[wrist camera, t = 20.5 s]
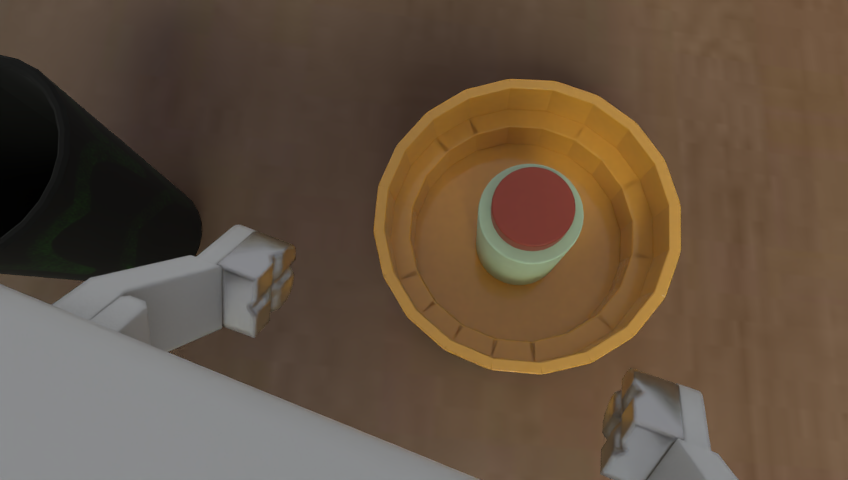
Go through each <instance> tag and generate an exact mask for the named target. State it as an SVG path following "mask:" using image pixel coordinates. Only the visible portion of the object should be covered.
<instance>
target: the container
mask: <svg viewBox="0 0 848 480" xmlns="http://www.w3.org/2000/svg"><path fill="white" fill-rule="evenodd" d="M583 219H584V211H583V204H582V201H581V198H580V196H579V193H578V191H577V190H576V188H575V186H574V185H573V184H572V183H571V182H570V180H568V179H567V178H566V177H565V176H564V175H563V174H561V173H560V172H558V171H556V170H555V169H552V168H550V167H547V166H544V165H539V164H520V165H516V166H513V167H510V168H507V169H506V170H504V171H502V172H500V173H499V174H497V175H496V176H495V177H494V178H493V179H492V180H491V181H490V182H489V183H488V184H487V186H486V188H485V189H484V191H483V193H482V195H481V198H480V201H479V207H478V220H477V235H476V249H477V254H478V257H479V260H480V262H481V264H482V265H483V267H484V268H485V269H486V271H487V272H488V273H489V274H491V275H492V276H493V277H494V278H496V279H498V280H500V281H502V282H504V283H507V284H512V285H526V284H531V283H534V282H536V281H538V280H540V279H542V278H543V277H545V276H546V275H547V274H548V273H549V272H550V271H551V270H552V269H553V268H554V267H555V266H556V264H557V263H558V262H559V261H560V260H561V259H562V257H563V256H564V255H565V254H566V253H567V252H568V251H569V249H570V248H571V247H572V246H573V245H574V243H575V242H576V240H577V239H578V237H579V235H580V232H581V229H582V226H583Z"/></svg>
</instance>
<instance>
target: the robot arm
mask: <svg viewBox="0 0 848 480" xmlns="http://www.w3.org/2000/svg"><path fill="white" fill-rule="evenodd" d="M295 258H296V248H295V247H294V245H292V244H290V243H287V242H285V241H282V240H279V239H277V238H274V237H272V236H269V235H267V234H264V233H261V232H259V231H255V230H253V229H250V228H248V227H245V226H242V225H240V224H239V225H234V226H233V227H232V228H230V229H229V230H228V231H227V232H225V233H224V234H223V235H222V236H221V237H219V238H218V239H217V240H216V241H215V242H213V243H212V244H211V245H210V246H209V247H207V248H206V249H205V250H204V251H202V252H201V253H200V254H199V255H198V256H196V257H195V256H192V255H188V256H184V257H179V258H175V259H171V260H166V261H162V262H157V263H153V264H148V265H144V266H140V267H135V268H131V269H126V270H122V271H118V272H113V273H109V274H104V275H100V276H96V277H91V278H89V279H88V280H86V281H85V282H83V283H82V284H80V285H79V286H78V287H76V288H75V289H73V290H72V291H71V292H69V293H68V294H66V295H65V296H63V297H62V298H61V299H59V300H58V301H56V302H55V303H54V304H52V305H51V304H48V303H46V302H43V301H41V300H38V299H36V298H34V297H31V296H29V295H26V294H24V293H21V292H19V291H16V290H14V289H11V288H9V287H7V286H4V285H2V284H0V480H480V479H478V478H475V477H473V476H471V475H468V474H466V473H463V472H461V471H458V470H456V469H453V468H451V467H449V466H446V465H444V464H441V463H439V462H436V461H434V460H431V459H429V458H427V457H424V456H422V455H419V454H417V453H414V452H412V451H409V450H407V449H404V448H402V447H399V446H397V445H395V444H392V443H390V442H387V441H385V440H382V439H380V438H377V437H375V436H372V435H370V434H367V433H365V432H363V431H360V430H358V429H355V428H353V427H350V426H348V425H345V424H343V423H340V422H338V421H335V420H333V419H331V418H328V417H326V416H323V415H321V414H318V413H316V412H313V411H311V410H308V409H306V408H303V407H301V406H299V405H296V404H294V403H291V402H289V401H286V400H284V399H281V398H279V397H276V396H274V395H272V394H269V393H267V392H264V391H262V390H259V389H257V388H254V387H252V386H249V385H247V384H245V383H242V382H240V381H237V380H235V379H232V378H230V377H227V376H225V375H222V374H220V373H218V372H215V371H213V370H210V369H208V368H205V367H203V366H200V365H198V364H195V363H193V362H190V361H188V360H186V359H183V358H181V357H178V356H176V355H173V354H171V353H168V352H169V351H171V350H173V349H176V348H178V347H180V346H183V345H185V344H187V343H189V342H192V341H194V340H196V339H199V338H201V337H203V336H205V335H208V334H210V333H212V332H215V331H217V330H219V329H221V328H222V326H223V327H226V328H228V329H231V330H234V331H237V332H239V333H242V334H245V335H248V336H250V337H253V338H255V337H256V336H257V335H258V334H259V333H260V331H261V330H262V329H263V328H264V327H265V326H266V324H267V323H268V322H269V321H270V312H272V311H275V310H278V309H280V308H281V307H282V305H283V304H284V303H285V302H286V300H287V298H288V296H289V294H290V292H291V289H292V285H293V281H294V273H293V271H292V269H291V267H290V265H291V264H292V263H293V262H294V260H295ZM602 433H603V434H604V436H605V438H606V439H607V440H606V442H605V444H604V445H603V447H602V449H601V470H600V474H602V475H604V476H606V477H609V478H611V479H613V480H738V479H737V478H736V476H735V475H734V474H733V472H732V471H731V470H730V468H729V467H728V466H727V465H726V463H725V462H724V461H723V459H722V458H721V457H720V455H719V454H718V453H715V452H713V451H711V446H710V440H709V433H708V426H707V420H706V413H705V407H704V400H703V395H702V393H701V392H700V391H698V390H695V389H692V388H689V387H686V386H683V385H680V384H677V383H676V384H675V383H673V382H670V381H667V380H664V379H662V378H659V377H656V376H653V375H650V374H648V373H645V372H642V371H639V370H636V369H634V368H630V369H629V370H628V371H627V372H626V374H625V375H624V377H623V379H622V390H620V391H617V392H614V394H613V396H612V398H611V399H610V401H609V403H608V406H607V409H606V412H605V415H604V420H603V430H602Z"/></svg>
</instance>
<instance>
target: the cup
mask: <svg viewBox="0 0 848 480" xmlns="http://www.w3.org/2000/svg"><path fill="white" fill-rule="evenodd" d="M201 235H202V231H201V220H200V216H199V212H198V210H197V209H196V207H195V205H194V204H193V202H192V201H191V200H190V199H189V198H188V197H187V196H186V195H185V194H184V193H183V192H181V191H180V190H179V189H178V188H177V187H175V186H174V185H173V184H172V183H171V182H170V181H168V180H167V179H166V178H165V177H164V176H163V175H161V174H160V173H159V172H158V171H157V170H155V169H154V168H153V167H152V166H151V165H150V164H148V163H147V162H146V161H145V160H144V159H142V158H141V157H140V156H139V155H138V154H137V153H135V152H134V151H133V150H132V149H131V148H130V147H128V146H127V145H126V144H125V143H124V142H122V141H121V140H120V139H119V138H118V137H117V136H115V135H114V134H113V133H112V132H111V131H109V130H108V129H107V128H106V127H105V126H104V125H102V124H101V123H100V122H99V121H98V120H97V119H95V118H94V117H93V116H92V115H91V114H89V113H88V112H87V111H86V110H85V109H84V108H82V107H81V106H80V105H79V104H78V103H77V102H75V101H74V100H73V99H72V98H71V97H69V96H68V95H67V94H66V93H65V92H64V91H62V90H61V89H60V88H59V87H58V86H56V85H55V84H54V83H53V82H52V81H51V80H49V79H48V78H47V77H46V76H45V75H44V74H42V73H41V72H40V71H39V70H38V69H36V68H34V67H32V66H30V65H28V64H26V63H24V62H23V61H21V60H19V59H16V58H11V57H7V56H2V55H0V274H11V275H23V276H35V277H47V278H59V279H71V280H83V281H86V280H88V279H89V278H91V277H96V276H100V275H104V274H109V273H113V272H118V271H122V270H126V269H131V268H135V267H140V266H144V265H148V264H153V263H157V262H162V261H166V260H171V259H175V258H179V257H184V256H188V255H192V256H195V254H196V252H197V250H198V248H199V244H200V240H201Z"/></svg>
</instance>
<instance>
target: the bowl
mask: <svg viewBox="0 0 848 480" xmlns="http://www.w3.org/2000/svg"><path fill="white" fill-rule="evenodd" d="M664 160H665V159H664V158H663V157H662V155H661V154H660V153H659V151H658V150H657V149H656V147H655V146H654V145H653V143H652V142H651V141H650V139H649V138H648V137H647V136H646V134H645V133H644V132H643V130H642V129H641V128H640V126H639V125H638V124H637V123H636V122H635V121H634V120H632V119H631V118H629V117H628V116H627V115H625V114H624V113H622V112H621V111H620V110H618V109H617V108H615V107H614V106H613V105H611V104H610V103H608V102H607V101H606V100H604V99H603V98H601V97H600V96H598V95H596V94H593V93H590V92H587V91H584V90H581V89H578V88H575V87H572V86H569V85H566V84H563V83H560V82H558V81H551V80H528V79H506V80H501V81H497V82H493V83H489V84H485V85H481V86H477V87H473V88H469V89H466V90H464V91H462V92H460V93H458V94H457V95H455V96H453V97H452V98H450V99H448V100H447V101H445V102H443V103H441V104H440V105H438V106H436V107H435V108H433V109H431V110H430V111H428V112H427V113H425V115H424V116H423V117H422V118H421V119H420V120H419V121H418V122H417V123H416V124H415V126H414V127H413V128H412V129H411V130H410V131H409V132H408V133H407V134H406V135H405V137H404V138H403V139H402V140H401V141H400V142H399V143H398V144H397V146H396V147H395V150H394V152H393V154H392V156H391V158H390V161H389V163H388V165H387V167H386V169H385V172H384V174H383V176H382V178H381V180H380V183H379V185H378V191H377V200H376V209H375V218H374V227H373V230H374V232H373V233H374V237H375V242H376V247H377V251H378V256H379V261H380V265H381V270H382V275H383V277H384V279H385V281H386V282H387V284H388V286H389V287H390V289H391V291H392V293H393V294H394V296H395V298H396V299H397V301H398V303H399V304H400V306H401V308H402V310H403V311H404V313H405V315H406V316H407V317H408V319H409V320H411V321H412V322H413V323H414V324H415V325H416V326H417V327H419V328H420V329H421V330H422V331H423V332H424V333H425V334H427V335H428V336H429V337H430V338H431V339H432V340H433V341H434V342H436V343H437V344H438V345H439V346H440V347H441V348H442V349H444V350H445V351H447V352H448V353H450V354H452V355H455V356H457V357H459V358H462V359H464V360H466V361H469V362H471V363H473V364H476V365H478V366H480V367H483V368H485V369H489V370H495V371H506V372H516V373H527V374H538V375H541V374H548V373H552V372H556V371H560V370H565V369H569V368H573V367H577V366H582V365H586V364H590V363H592V362H594V361H596V360H598V359H599V358H601V357H602V356H604V355H606V354H607V353H609V352H610V351H612V350H614V349H615V348H617V347H618V346H620V345H622V344H623V343H625V342H626V341H628V340H630V339H631V338H633V337H634V336H635V335H636V334H637V333H638V331H639V330H640V329H641V328H642V326H643V325H644V324H645V323H646V321H647V320H648V319H649V318H650V316H651V315H652V314H653V313H654V311H655V310H656V309H657V308H658V306H659V305H660V304H661V303H662V301H663V300H664V299H665V298H664V297H666V294H667V292H668V289H669V286H670V283H671V280H672V277H673V274H674V271H675V268H676V266H677V263H678V260H679V257H680V254H681V205H680V201H679V198H678V195H677V193H676V190H675V187H674V184H673V181H672V178H671V175H670V172H669V170H668V167H667V164H666V161H664ZM520 164H539V165H544V166H547V167H550V168H552V169H555V170H556V171H558V172H560V173H561V174H563V175H564V176H565V177H566V178H567V179H568V180H570V182H571V183H572V184H573V185H574V186H575V188H576V190H577V191H578V193H579V196H580V198H581V201H582V204H583V211H584V219H583V226H582V229H581V232H580V235H579V237H578V239H577V240H576V242H575V243H574V245H573V246H572V247H571V248H570V249H569V251H568V252H567V253H566V254H565V255H564V256H563V257H562V259H561V260H560V261H559V262H558V263H557V264H556V266H555V267H554V268H553V269H552V270H551V271H550V272H549V273H548V274H547V275H546V276H545V277H543V278H542V279H540V280H538V281H536V282H534V283H531V284H526V285H512V284H507V283H504V282H502V281H500V280H498V279H496V278H494V277H493V276H492V275H491V274H489V273H488V272H487V271H486V269H485V268H484V267H483V265H482V264H481V262H480V260H479V257H478V254H477V249H476V235H477V220H478V207H479V201H480V198H481V195H482V193H483V191H484V189H485V188H486V186H487V184H488V183H489V182H490V181H491V180H492V179H493V178H494V177H495V176H496V175H497V174H499V173H500V172H502V171H504V170H506V169H507V168H510V167H513V166H516V165H520Z"/></svg>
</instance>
